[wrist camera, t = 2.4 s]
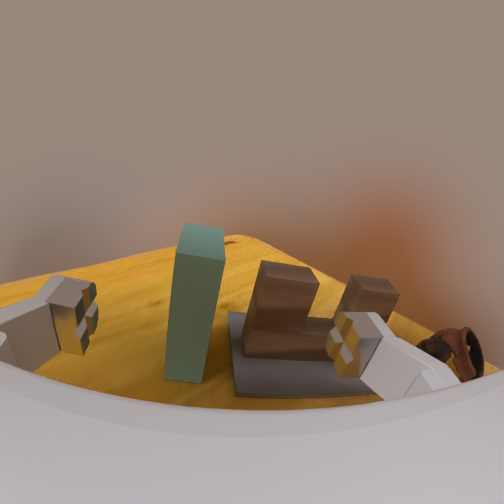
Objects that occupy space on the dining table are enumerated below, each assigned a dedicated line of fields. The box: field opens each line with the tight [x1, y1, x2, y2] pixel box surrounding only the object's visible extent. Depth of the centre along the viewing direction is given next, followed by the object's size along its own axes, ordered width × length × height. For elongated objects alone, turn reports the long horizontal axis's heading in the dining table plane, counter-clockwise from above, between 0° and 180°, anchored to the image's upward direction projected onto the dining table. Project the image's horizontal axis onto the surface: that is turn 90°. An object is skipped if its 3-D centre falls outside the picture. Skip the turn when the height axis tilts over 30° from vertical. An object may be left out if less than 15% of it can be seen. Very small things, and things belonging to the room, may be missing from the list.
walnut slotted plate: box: [228, 260, 400, 398], centre depth 28 cm, size 12×16×10 cm
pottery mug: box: [416, 327, 484, 383], centre depth 28 cm, size 12×10×8 cm
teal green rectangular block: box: [165, 223, 226, 384], centre depth 23 cm, size 6×3×12 cm, turn 7°
